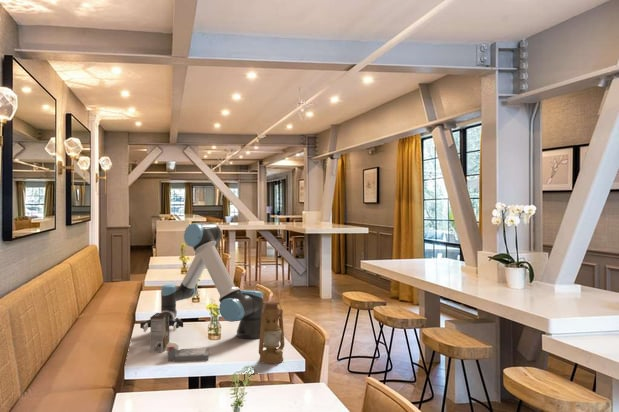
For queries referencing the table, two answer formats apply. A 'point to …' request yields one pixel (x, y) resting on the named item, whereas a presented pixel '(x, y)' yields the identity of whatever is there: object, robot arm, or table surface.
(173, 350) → the scale
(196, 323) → the table surface
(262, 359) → the lantern
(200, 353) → the scale plate
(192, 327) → the table surface
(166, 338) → the coffee box
